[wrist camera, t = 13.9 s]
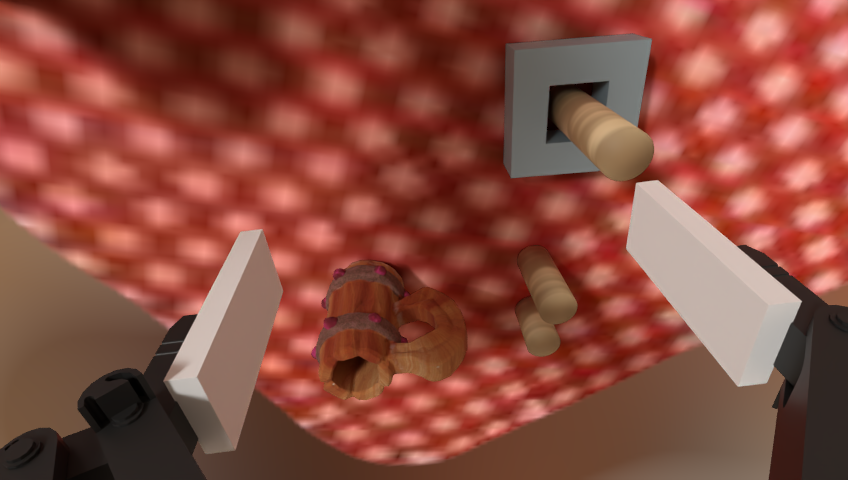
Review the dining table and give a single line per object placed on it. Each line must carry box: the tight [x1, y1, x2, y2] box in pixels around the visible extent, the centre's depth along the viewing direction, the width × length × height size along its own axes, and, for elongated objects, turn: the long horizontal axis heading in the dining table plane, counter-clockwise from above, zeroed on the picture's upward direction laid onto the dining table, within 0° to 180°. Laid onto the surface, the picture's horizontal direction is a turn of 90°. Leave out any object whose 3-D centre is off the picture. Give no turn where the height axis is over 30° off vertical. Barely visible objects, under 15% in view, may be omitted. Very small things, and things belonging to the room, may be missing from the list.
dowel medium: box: [517, 245, 577, 324], centre depth 48 cm, size 4×4×9 cm
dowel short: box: [515, 297, 560, 356], centre depth 53 cm, size 4×4×6 cm
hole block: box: [504, 33, 652, 178], centre depth 41 cm, size 11×11×4 cm
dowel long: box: [548, 84, 654, 181], centre depth 37 cm, size 4×4×14 cm
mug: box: [311, 260, 467, 400], centre depth 46 cm, size 15×8×15 cm, turn 97°
